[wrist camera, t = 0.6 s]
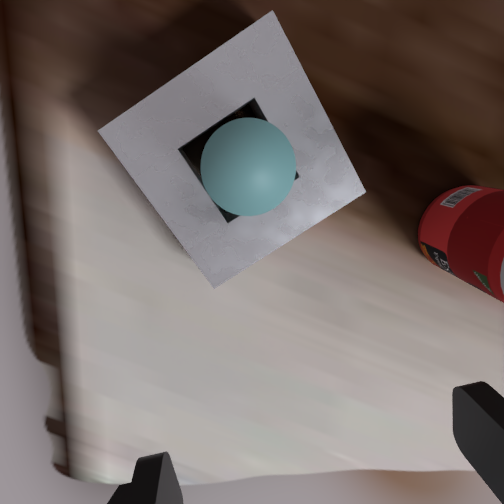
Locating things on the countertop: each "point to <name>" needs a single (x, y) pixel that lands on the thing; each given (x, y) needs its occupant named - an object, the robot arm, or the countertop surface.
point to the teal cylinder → (248, 166)
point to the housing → (212, 113)
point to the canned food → (467, 236)
